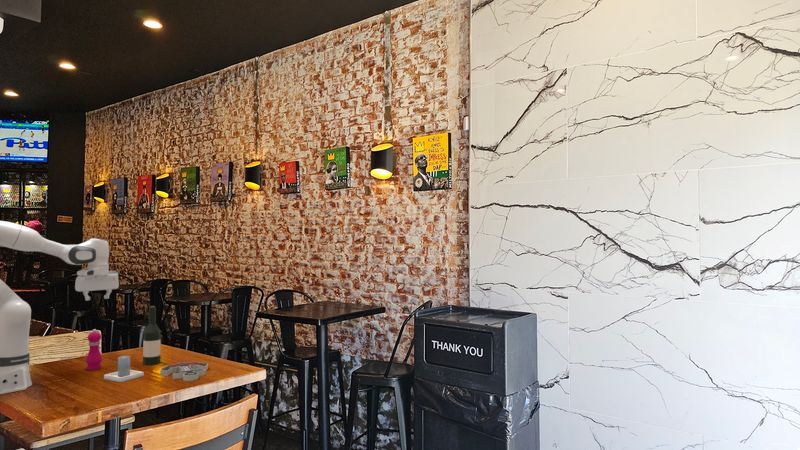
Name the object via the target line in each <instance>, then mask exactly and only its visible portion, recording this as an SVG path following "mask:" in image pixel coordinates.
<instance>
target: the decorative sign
mask: <svg viewBox="0 0 800 450" xmlns="http://www.w3.org/2000/svg"><path fill="white" fill-rule="evenodd" d="M208 370H209V363H208V362H199V361H192V362H179V363H175V364H168V365H165V366H164V367H160V375H161V376H163V377H168V376H170V375H171V374H172V380H178V379H182V381H184V382H194V381H198V380H199V377H202V376H206V372H207V371H208Z"/></svg>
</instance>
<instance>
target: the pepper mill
mask: <svg viewBox="0 0 800 450" xmlns="http://www.w3.org/2000/svg"><path fill="white" fill-rule="evenodd" d="M97 330H98V329H96V328H94V329H92V332H90V333H89V334H88V335H87V340H88V346H89V351H88V353H87V356H86V359H85V363H86V364H87V365H86V370H87V371H96V370H101V368H102V364H101V363H102V362H103V356H102V353H101V351H100V345H101V339H102V334H101V333H100V332H98V331H97Z"/></svg>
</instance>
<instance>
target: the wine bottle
mask: <svg viewBox="0 0 800 450" xmlns="http://www.w3.org/2000/svg"><path fill="white" fill-rule="evenodd" d="M161 334H162V331H161V329H160V328H159V326H158V325H157V307H156V306H155V305H150V306H149V308H148V324H147V326H146V327H145V328H144V330H143V333H142V336H143V339H142V340H143V341H142V342H143V343H142V346H143V347H142V365H143V366H155V365H158V364H160V363H161V353H162V351H161V349H162V348H161V347H162V345H161V343H162V341H161V340H162V337H161V336H162V335H161Z"/></svg>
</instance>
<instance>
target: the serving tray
mask: <svg viewBox="0 0 800 450" xmlns="http://www.w3.org/2000/svg"><path fill="white" fill-rule="evenodd" d="M143 377H145V373H144V371H139V370H133V369H130V375H128V376H124V377H118V371H115V372H110V373H106V374H103V380H106V381H107V380H108V381H111V382H117V383H123V382H127V381H131V380H135V379H139V378H143Z"/></svg>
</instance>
